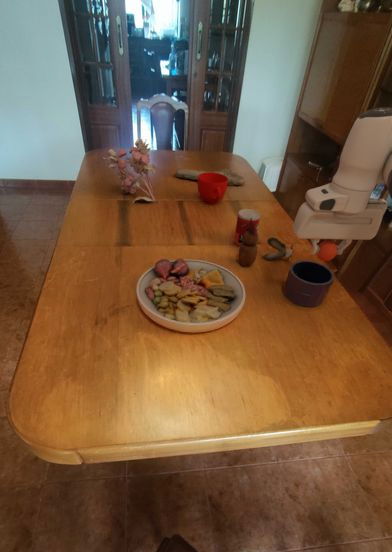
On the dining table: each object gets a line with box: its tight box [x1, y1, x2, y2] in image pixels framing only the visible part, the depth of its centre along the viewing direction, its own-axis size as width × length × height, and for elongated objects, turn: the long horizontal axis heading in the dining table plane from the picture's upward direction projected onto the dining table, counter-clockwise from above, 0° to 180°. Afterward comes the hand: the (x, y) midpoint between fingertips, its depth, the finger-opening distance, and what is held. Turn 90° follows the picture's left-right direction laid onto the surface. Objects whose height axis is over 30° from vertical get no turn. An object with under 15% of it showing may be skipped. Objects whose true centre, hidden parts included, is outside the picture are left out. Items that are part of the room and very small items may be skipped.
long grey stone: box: [175, 168, 246, 187], centre depth 158 cm, size 35×5×10 cm
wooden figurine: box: [238, 218, 259, 268], centre depth 102 cm, size 7×6×15 cm
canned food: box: [233, 208, 261, 248], centre depth 113 cm, size 8×8×11 cm
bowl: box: [135, 258, 247, 333], centre depth 88 cm, size 30×30×8 cm
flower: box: [102, 138, 159, 204], centre depth 132 cm, size 20×22×25 cm
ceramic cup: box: [197, 171, 228, 206], centre depth 136 cm, size 13×17×10 cm
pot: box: [282, 259, 335, 309], centre depth 94 cm, size 13×13×8 cm
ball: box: [316, 240, 338, 262], centre depth 80 cm, size 5×5×5 cm
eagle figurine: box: [262, 237, 295, 261], centre depth 109 cm, size 8×7×9 cm
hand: (325, 253), depth 81 cm, fingers closed on ball, 5 cm apart
